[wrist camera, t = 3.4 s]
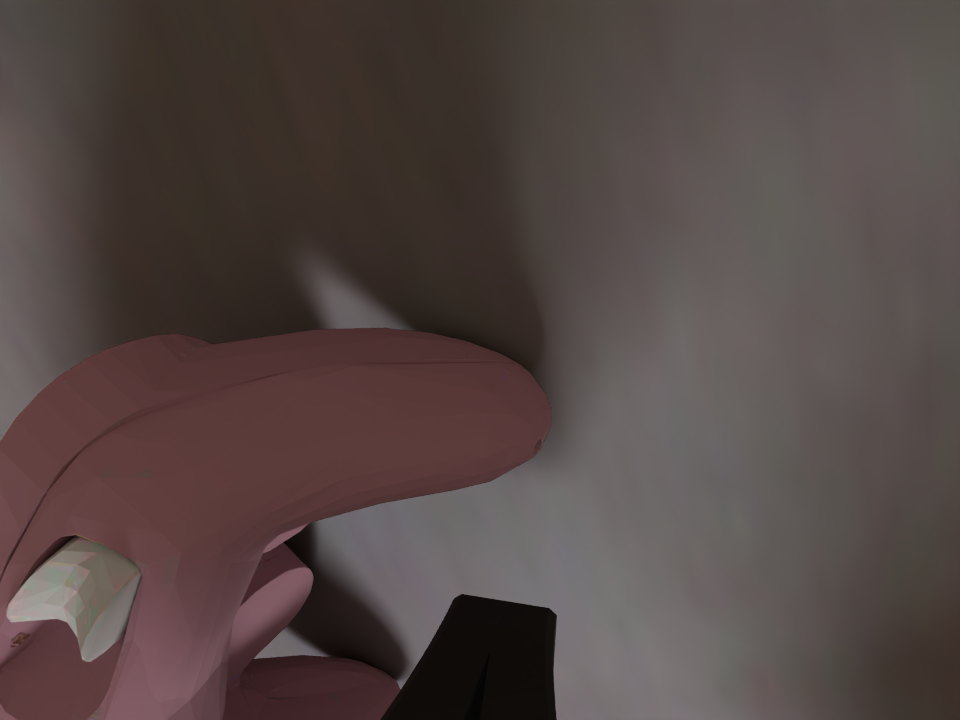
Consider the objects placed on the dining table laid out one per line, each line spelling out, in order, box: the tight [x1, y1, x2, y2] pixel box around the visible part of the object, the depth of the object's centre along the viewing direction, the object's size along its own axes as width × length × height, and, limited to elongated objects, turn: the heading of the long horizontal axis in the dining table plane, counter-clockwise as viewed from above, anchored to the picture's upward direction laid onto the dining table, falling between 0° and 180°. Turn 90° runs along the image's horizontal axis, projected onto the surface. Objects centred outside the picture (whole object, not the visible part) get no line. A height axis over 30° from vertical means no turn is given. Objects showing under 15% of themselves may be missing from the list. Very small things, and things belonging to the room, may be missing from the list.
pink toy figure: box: [0, 328, 551, 720], centre depth 12 cm, size 10×5×7 cm, turn 163°
